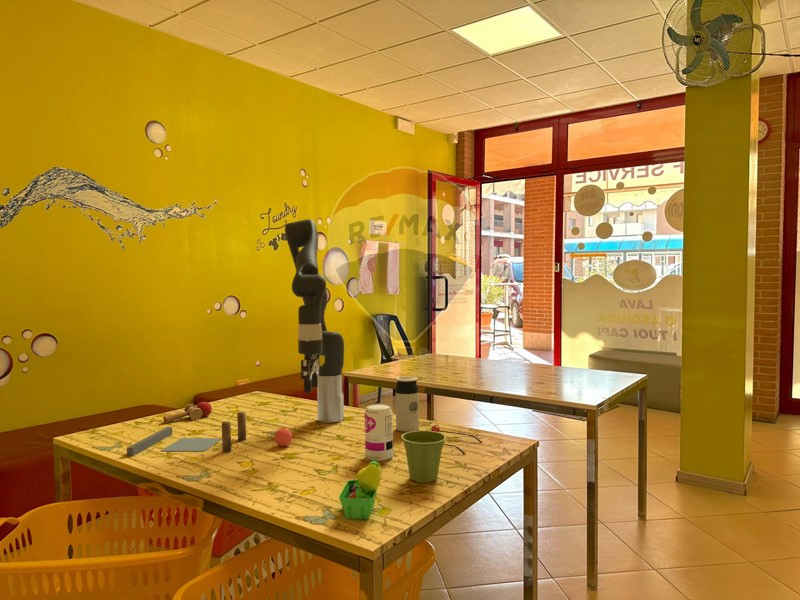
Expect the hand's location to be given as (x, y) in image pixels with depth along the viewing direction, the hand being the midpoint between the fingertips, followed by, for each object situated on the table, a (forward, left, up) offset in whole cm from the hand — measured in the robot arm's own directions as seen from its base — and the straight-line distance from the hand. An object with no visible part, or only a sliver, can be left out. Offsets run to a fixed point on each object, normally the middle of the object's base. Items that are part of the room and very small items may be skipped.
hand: (311, 389), depth 176 cm
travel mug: (-29, -21, -18) cm, 40 cm away
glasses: (-44, -3, -19) cm, 48 cm away
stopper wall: (+53, 0, -18) cm, 56 cm away
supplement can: (-23, +10, -18) cm, 31 cm away
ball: (+9, 0, -15) cm, 18 cm away
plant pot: (-37, +27, -18) cm, 49 cm away
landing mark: (+39, 0, -18) cm, 43 cm away
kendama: (+57, -33, -18) cm, 68 cm away
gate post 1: (+25, +6, -18) cm, 32 cm away
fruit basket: (-24, +48, -18) cm, 57 cm away
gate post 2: (+25, -6, -18) cm, 32 cm away
